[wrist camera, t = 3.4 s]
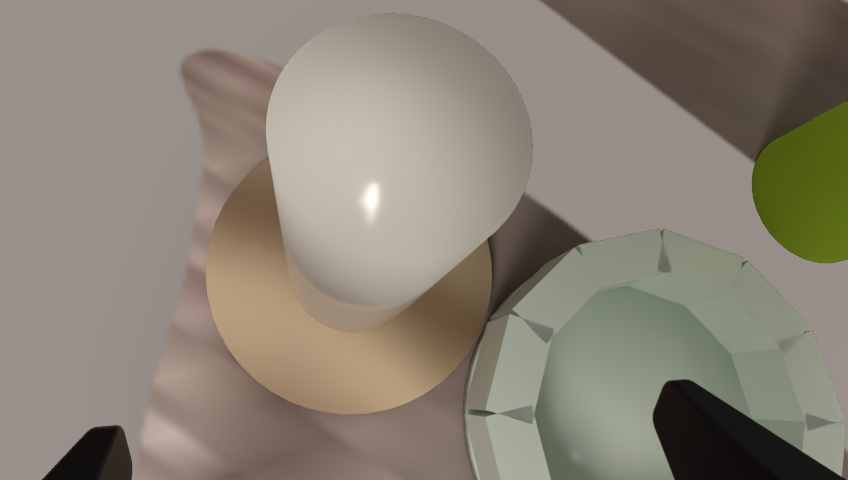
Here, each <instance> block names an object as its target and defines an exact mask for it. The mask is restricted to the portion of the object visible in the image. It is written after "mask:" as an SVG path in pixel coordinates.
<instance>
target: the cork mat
mask: <svg viewBox="0 0 848 480" xmlns="http://www.w3.org/2000/svg"><path fill="white" fill-rule="evenodd" d="M206 284H207V295H208V300H209V304H210V308H211V312H212V316H213V318H214V321H215V323H216V326H217V329H218V331H219V333H220V335H221V337H222V339H223V340H224V342H225V344H226V346H227V348H228V349H229V351H230V352H231V353H232V355H233V356H234V357H235V359H236V360H237V361H238V363H239V364H240V365H241V366H242V367H243V368H244V369H245V370H246V371H247V372H248V373H249V374H250V375H251V376H252V377H253V378H254V379H255V380H256V381H258V382H259V383H260V384H262V385H263V386H264V387H266V388H267V389H268V390H270V391H271V392H273V393H275V394H277V395H278V396H280V397H282V398H284V399H286V400H287V401H290V402H292V403H295V404H298V405H300V406H303V407H305V408H309V409H313V410H317V411H321V412H326V413H335V414H346V415H347V414H367V413H373V412H378V411H384V410H388V409H391V408H394V407H397V406H400V405H403V404H406V403H408V402H410V401H412V400H414V399H416V398H418V397H420V396H422V395H423V394H425V393H427V392H428V391H430V390H431V389H433V388H434V387H436V386H437V385H438V384H440V383H441V382H442V381H443V380H444V379H445V378H446V377H448V376H449V375H450V374H451V373H452V372H453V371H454V370H455V369H456V367H457V366H458V365H459V364H460V363H461V362H462V361H463V359H464V358H465V357H466V355H467V354H468V352H469V351H470V349H471V348H472V346H473V345H474V343H475V341H476V339H477V337H478V335H479V333H480V331H481V329H482V326H483V323H484V320H485V317H486V314H487V311H488V306H489V301H490V296H491V286H492V264H491V255H490V250H489V245H488V240H487V239H486V240H485V241H484V242H483V243H482V244H481V245H480V246H478V247H477V248H476V249H475V250H474V251H473V252H471V253H470V254H469V255H468V256H467V257H466V258H465V259H463V260H462V261H461V262H460V263H459V264H458V265H456V266H455V267H454V268H453V269H452V270H451V271H450V272H448V273H447V274H446V275H445V276H444V277H443V278H441V279H440V280H439V281H438V282H437V283H436V284H435V285H433V286H432V287H431V288H430V289H429V290H428V291H427V292H425V293H424V294H423V295H422V296H421V297H420V298H418V299H417V300H416V301H415V302H414V303H413V304H412V305H410V306H409V307H408V308H407V309H406V310H405V311H403V312H402V313H401V314H400V315H399V316H398V317H396V318H395V319H394V320H393V321H391V322H389V323H388V324H386V325H384V326H382V327H380V328H377V329H374V330H370V331H365V332H343V331H339V330H335V329H332V328H329V327H327V326H325V325H323V324H321V323H319V322H318V321H316V320H315V319H314V318H312V317H311V316H310V315H309V314H308V313H307V312H306V311H305V310H304V309H303V308H302V306H301V305H300V304H299V302H298V301H297V299H296V297H295V295H294V293H293V290H292V288H291V284H290V280H289V275H288V269H287V263H286V257H285V251H284V245H283V239H282V233H281V227H280V221H279V215H278V209H277V203H276V197H275V191H274V185H273V179H272V173H271V167H270V161H269V158H268V159H267V160H265V161H264V162H262V163H261V164H260V165H259V166H257V167H256V168H255V169H254V170H253V171H252V172H250V173H249V174H248V175H247V176H246V177H245V178H244V179H243V181H242V182H241V183H240V184H239V185H238V186H237V187H236V188H235V190H234V191H233V193H232V194H231V196H230V197H229V198H228V200H227V201H226V203H225V204H224V206H223V208H222V210H221V212H220V214H219V216H218V218H217V220H216V223H215V226H214V229H213V232H212V235H211V238H210V243H209V248H208V253H207V262H206Z"/></svg>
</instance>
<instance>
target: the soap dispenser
mask: <svg viewBox="0 0 848 480" xmlns="http://www.w3.org/2000/svg"><path fill="white" fill-rule="evenodd" d="M752 192H753V198H754V203H755V206H756V209H757V212H758V214H759V216H760V218H761V220H762V222H763V223H764V225H765V227H766V228H767V230H768V231H769V232H770V234H771V235H772V236H773V237H774V238H775V239H776V240H777V241H778V242H779V243H780V244H781V245H782V246H783V247H784V248H786V249H787V250H788V251H790V252H791V253H793V254H795V255H797V256H799V257H801V258H803V259H806V260H809V261H813V262H818V263H834V262H839V261H843V260H847V259H848V100H847V101H845V102H843V103H841V104H840V105H838V106H836V107H834V108H832V109H830V110H829V111H827V112H825V113H823V114H821V115H819V116H818V117H816V118H814V119H812V120H810V121H808V122H807V123H805V124H803V125H801V126H799V127H797V128H796V129H794V130H792V131H790V132H788V133H786V134H785V135H783V136H781V137H779V138H777V139H775V140H774V141H772V142H771V143H770V144H768V145H767V146H766V147H765V148H764V149H763V151H762V152H761V153H760V155H759V157H758V159H757V161H756V163H755V166H754V170H753V175H752Z"/></svg>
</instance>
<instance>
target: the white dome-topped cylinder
mask: <svg viewBox="0 0 848 480" xmlns="http://www.w3.org/2000/svg"><path fill="white" fill-rule="evenodd" d="M266 139H267V148H268V155H269V161H270V167H271V173H272V179H273V185H274V191H275V197H276V203H277V209H278V215H279V221H280V227H281V233H282V239H283V245H284V251H285V257H286V263H287V269H288V275H289V280H290V284H291V288H292V290H293V293H294V295H295V297H296V299H297V301H298V302H299V304H300V305H301V306H302V308H303V309H304V310H305V311H306V312H307V313H308V314H309V315H310V316H311V317H312V318H314V319H315V320H316V321H318V322H319V323H321V324H323V325H325V326H327V327H329V328H332V329H335V330H339V331H343V332H365V331H370V330H374V329H377V328H380V327H382V326H384V325H386V324H388V323H389V322H391V321H393V320H394V319H395V318H396V317H398V316H399V315H400V314H401V313H402V312H403V311H405V310H406V309H407V308H408V307H409V306H410V305H412V304H413V303H414V302H415V301H416V300H417V299H418V298H420V297H421V296H422V295H423V294H424V293H425V292H427V291H428V290H429V289H430V288H431V287H432V286H433V285H435V284H436V283H437V282H438V281H439V280H440V279H441V278H443V277H444V276H445V275H446V274H447V273H448V272H450V271H451V270H452V269H453V268H454V267H455V266H456V265H458V264H459V263H460V262H461V261H462V260H463V259H465V258H466V257H467V256H468V255H469V254H470V253H471V252H473V251H474V250H475V249H476V248H477V247H478V246H480V245H481V244H482V243H483V242H484V241H485V240H486V239H488V238H489V237H490V236H491V235H492V234H493V233H494V232H496V231H497V230H498V229H499V228H500V226H501V225H502V224H503V223H504V222H505V221H506V220H507V219H508V218H509V216H510V215H511V213H512V212H513V210H514V209H515V208H516V206H517V204H518V202H519V200H520V198H521V196H522V194H523V192H524V190H525V187H526V184H527V181H528V178H529V174H530V168H531V163H532V150H533V144H532V131H531V126H530V121H529V116H528V113H527V110H526V107H525V104H524V102H523V99H522V97H521V95H520V93H519V91H518V89H517V87H516V85H515V83H514V82H513V80H512V79H511V77H510V76H509V75H508V73H507V71H506V70H505V69H504V68H503V67H502V66H501V64H500V63H499V62H498V61H497V60H496V58H494V57H493V56H492V55H491V54H490V53H489V52H488V51H487V50H486V49H485V48H484V47H482V46H481V45H480V44H478V43H477V42H476V41H474V40H473V39H472V38H470V37H469V36H467V35H465V34H463V33H462V32H460V31H458V30H457V29H454V28H452V27H450V26H448V25H445V24H443V23H440V22H437V21H434V20H431V19H428V18H424V17H419V16H414V15H408V14H396V13H386V14H372V15H366V16H360V17H356V18H353V19H349V20H346V21H343V22H341V23H338V24H336V25H334V26H331V27H329V28H327V29H326V30H324V31H322V32H321V33H319V34H317V35H316V36H314V37H313V38H312V39H311V40H309V41H308V42H307V43H306V44H304V45H303V46H302V47H301V48H300V49H299V50H298V51H297V52H296V54H295V55H294V56H293V57H292V58H291V59H290V60H289V62H288V63H287V65H286V66H285V68H284V69H283V70H282V72H281V74H280V76H279V78H278V80H277V82H276V84H275V86H274V89H273V92H272V95H271V98H270V101H269V106H268V112H267V118H266Z"/></svg>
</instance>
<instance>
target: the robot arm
mask: <svg viewBox="0 0 848 480" xmlns="http://www.w3.org/2000/svg"><path fill="white" fill-rule="evenodd" d="M653 425H654V428H655V430H656V433H657V436H658V438H659V441H660V443H661V446H662V449H663V451H664V454H665V456H666V459H667V462H668V464H669V467H670V469H671V472H672V475H673V477H674V480H846V479H844V478H843V477H841V476H840V475H838V474H837V473H835V472H834V471H832V470H830V469H829V468H827V467H826V466H824V465H823V464H821V463H819V462H818V461H816V460H815V459H813V458H812V457H810V456H809V455H807V454H805V453H804V452H802V451H801V450H799V449H798V448H796V447H795V446H793V445H791V444H790V443H788V442H787V441H785V440H784V439H782V438H781V437H779V436H777V435H776V434H774V433H773V432H771V431H770V430H768V429H767V428H765V427H763V426H762V425H760V424H759V423H757V422H756V421H754V420H752V419H751V418H749V417H748V416H746V415H745V414H743V413H742V412H740V411H738V410H737V409H735V408H734V407H732V406H731V405H729V404H728V403H726V402H724V401H723V400H721V399H720V398H718V397H717V396H715V395H714V394H712V393H710V392H709V391H707V390H706V389H704V388H703V387H701V386H699V385H698V384H696V383H695V382H693V381H691V380H688V379H679V380H669V381H667V382H666V383H665V384H664V385H663V387H662V390H661V392H660V395H659V397H658V400H657V403H656V405H655V408H654V410H653ZM131 479H132V460H131V456H130V452H129V448H128V445H127V441H126V437H125V433H124V430H123V429H122V427H121V426H117V425H114V426H101V427H94V428H92V429H90V430H89V431H88V432H87V433H85V434H84V436H83V437H82V438H81V439H80V440H79V441H78V442H77V443H76V444H75V445H74V446H73V447H72V448H71V449H70V450H69V452H68V453H67V454H66V455H65V456H64V457H63V458H62V459H61V460H60V461H59V462H58V463H57V464H56V465H55V466H54V468H53V469H52V470H51V471H50V472H49V473H48V474H47V475H46V476H45V477H44V478H43V479H42V480H131Z"/></svg>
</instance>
